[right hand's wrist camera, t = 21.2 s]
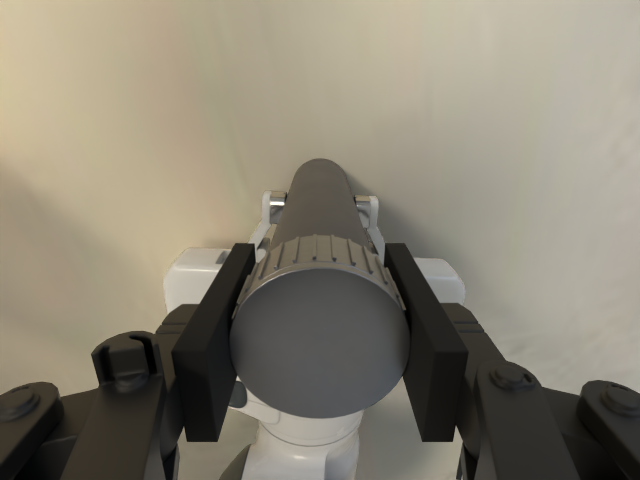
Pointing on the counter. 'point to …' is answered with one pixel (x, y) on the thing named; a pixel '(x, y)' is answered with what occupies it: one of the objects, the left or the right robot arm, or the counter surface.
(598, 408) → the right robot arm
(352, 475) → the left robot arm
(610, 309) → the counter surface
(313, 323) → the lid
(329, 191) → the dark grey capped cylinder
